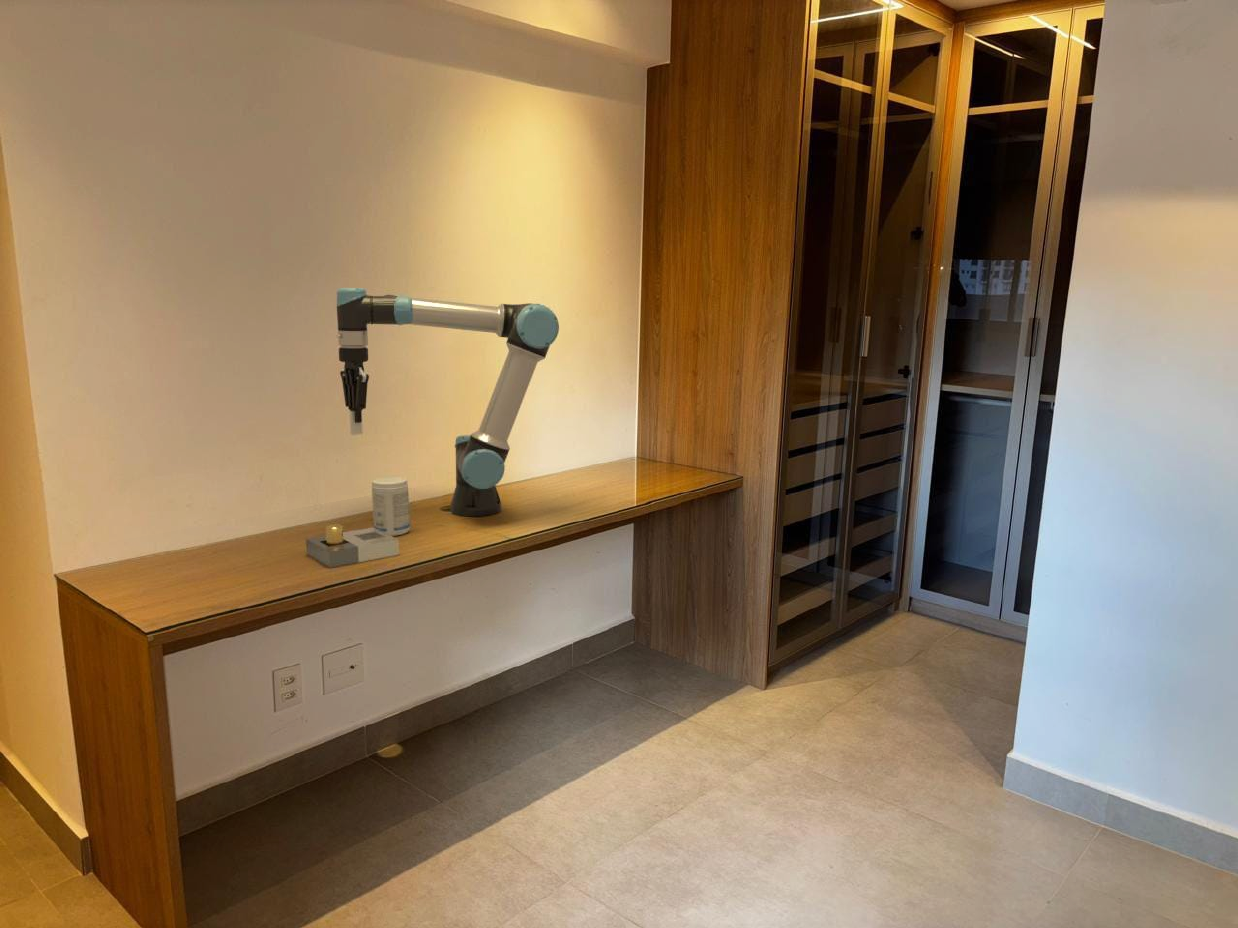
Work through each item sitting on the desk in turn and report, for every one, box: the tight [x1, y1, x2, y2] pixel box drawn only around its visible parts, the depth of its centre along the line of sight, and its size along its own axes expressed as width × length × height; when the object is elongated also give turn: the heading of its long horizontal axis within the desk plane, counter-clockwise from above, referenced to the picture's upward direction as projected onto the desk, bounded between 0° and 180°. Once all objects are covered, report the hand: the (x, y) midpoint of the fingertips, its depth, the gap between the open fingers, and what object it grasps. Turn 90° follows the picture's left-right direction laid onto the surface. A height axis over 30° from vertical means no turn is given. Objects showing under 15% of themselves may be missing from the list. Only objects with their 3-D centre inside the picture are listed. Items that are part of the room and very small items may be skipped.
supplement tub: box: [371, 476, 411, 537], centre depth 243 cm, size 10×10×15 cm
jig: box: [305, 526, 400, 569], centre depth 223 cm, size 18×14×4 cm
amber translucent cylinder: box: [325, 523, 344, 547], centre depth 220 cm, size 4×4×8 cm
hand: (356, 434), depth 243 cm, fingers closed
